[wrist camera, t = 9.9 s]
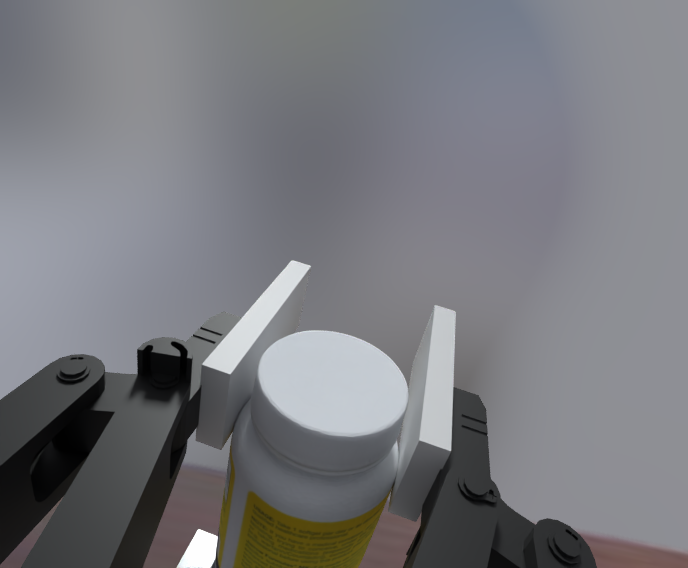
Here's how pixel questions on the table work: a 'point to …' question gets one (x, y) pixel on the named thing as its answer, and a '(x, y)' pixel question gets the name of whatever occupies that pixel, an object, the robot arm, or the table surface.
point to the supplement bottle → (312, 455)
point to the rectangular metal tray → (200, 552)
